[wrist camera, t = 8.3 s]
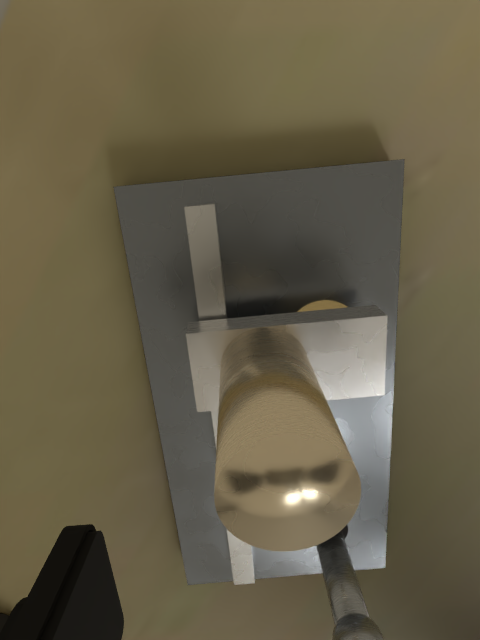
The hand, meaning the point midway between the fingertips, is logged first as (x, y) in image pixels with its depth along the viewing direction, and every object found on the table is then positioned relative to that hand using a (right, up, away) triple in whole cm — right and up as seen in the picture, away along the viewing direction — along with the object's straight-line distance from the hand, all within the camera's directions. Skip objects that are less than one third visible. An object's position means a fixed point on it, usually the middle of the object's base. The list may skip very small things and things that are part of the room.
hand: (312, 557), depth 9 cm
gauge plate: (0, +1, +13) cm, 13 cm away
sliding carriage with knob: (0, +4, +10) cm, 10 cm away
